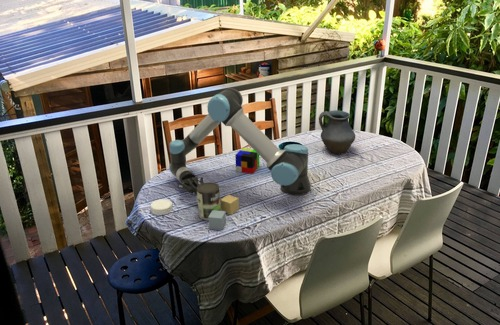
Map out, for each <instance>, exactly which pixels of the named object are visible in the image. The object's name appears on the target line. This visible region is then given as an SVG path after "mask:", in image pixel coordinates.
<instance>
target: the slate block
mask: <svg viewBox="0 0 500 325" xmlns="http://www.w3.org/2000/svg"><path fill="white" fill-rule="evenodd" d="M207 221H208V229H209V230H219V231H223V230H224V228H225V226H226V225H227V213H226V211H217V210H212V212H211V213H210V215H209V217H208V220H207Z"/></svg>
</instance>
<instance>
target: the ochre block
mask: <svg viewBox="0 0 500 325" xmlns="http://www.w3.org/2000/svg"><path fill="white" fill-rule="evenodd" d="M239 200H240V198H239V197H236V196H233V195H231V194H227V195H226V196H224V197H222V198H220V208H221V211H226V214H229V215H233V214H234V213H236V212H237V211H239V210H240V205H239V204H240V201H239Z"/></svg>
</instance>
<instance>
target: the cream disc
mask: <svg viewBox="0 0 500 325" xmlns="http://www.w3.org/2000/svg"><path fill="white" fill-rule="evenodd" d="M172 211H173V202H172V201H171V200H170V199H166V198H164V199H163V198H160V199H156V200H155V201H153V202H151V204H150V212H151V213H152V214H153V215H154V216H155V215H156V216H166V215H169V214H170V213H171V212H172Z"/></svg>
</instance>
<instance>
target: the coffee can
mask: <svg viewBox="0 0 500 325" xmlns="http://www.w3.org/2000/svg"><path fill="white" fill-rule="evenodd" d="M220 189H221V188H220V185H219V184H218V183H217V182H213V181H212V182H210V181H209V182H208V181H206V182H204V183H202V184H200V183H199V185H198V186H197V195H196V196H197V206H198V217H199V218H200V219H202V220H205V221H208V217H209V215H210V213H211V212H212V210H217V211H221V203H220V200H221V195H220Z"/></svg>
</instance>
